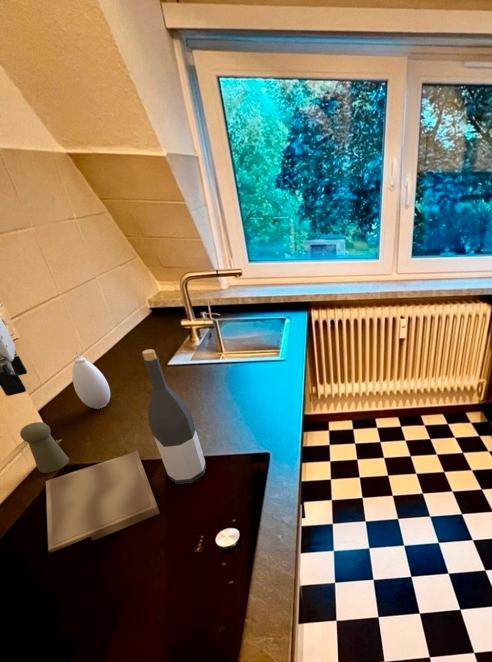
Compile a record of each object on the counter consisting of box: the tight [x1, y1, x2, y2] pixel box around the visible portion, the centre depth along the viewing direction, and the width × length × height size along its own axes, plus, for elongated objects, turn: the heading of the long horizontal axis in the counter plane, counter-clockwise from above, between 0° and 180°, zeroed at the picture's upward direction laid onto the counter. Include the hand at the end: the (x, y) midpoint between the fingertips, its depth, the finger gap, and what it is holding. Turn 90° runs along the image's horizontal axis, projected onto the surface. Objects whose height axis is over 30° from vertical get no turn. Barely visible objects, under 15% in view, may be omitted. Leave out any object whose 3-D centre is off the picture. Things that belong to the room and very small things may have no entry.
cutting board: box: [45, 450, 161, 553], centre depth 80 cm, size 18×22×2 cm
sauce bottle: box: [72, 349, 111, 410], centre depth 107 cm, size 8×8×18 cm
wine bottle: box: [142, 349, 207, 485], centre depth 80 cm, size 8×8×30 cm
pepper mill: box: [19, 421, 70, 474], centre depth 88 cm, size 6×6×11 cm
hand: (17, 383), depth 80 cm, fingers open, 9 cm apart
